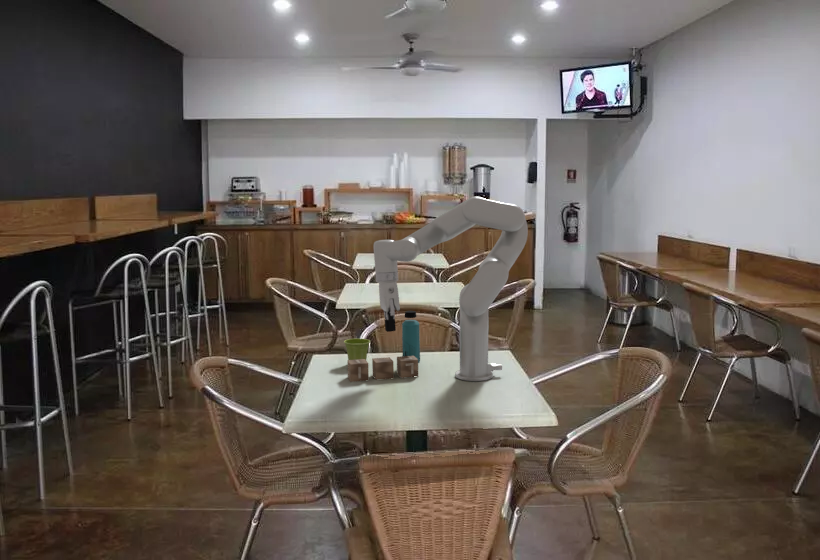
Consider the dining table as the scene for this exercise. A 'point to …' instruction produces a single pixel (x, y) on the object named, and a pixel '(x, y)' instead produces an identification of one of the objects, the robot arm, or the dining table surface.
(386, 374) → the plain block
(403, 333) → the beverage bottle
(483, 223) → the robot arm
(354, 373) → the block one
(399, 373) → the block seven
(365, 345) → the plant pot
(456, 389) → the dining table surface
